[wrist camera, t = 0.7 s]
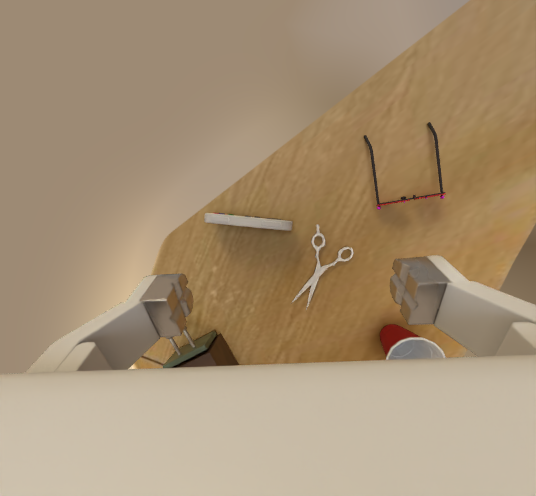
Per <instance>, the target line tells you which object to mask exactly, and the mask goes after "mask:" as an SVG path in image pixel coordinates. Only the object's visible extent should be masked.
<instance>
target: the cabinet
mask: <svg viewBox="0 0 536 496" xmlns="http://www.w3.org/2000/svg"><path fill="white" fill-rule="evenodd" d="M213 342H214V343H213ZM211 343H213V344H212V346H211V347H210V349H209V351H208V352H207V353H205V354H203V355H201V356H199V357H197V358H195V359H193V360H191V361H189V362H187V363H185V364H183V365H181V366H179V367H177V366H178V364H177V365H175V366H173V367H171V368H176V367H177V368H182V367H208V366H234V365H239V364H238V362H237V361H236V359H235V357H234V356H233V354H232V352H231V350H230V349H229V347H228V345H227V344H226V342H225V340H224V338H223V337H222V335H221V334H219V335H217V336H215V338H214V339H213V341H212V342H211Z"/></svg>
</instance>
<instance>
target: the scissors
mask: <svg viewBox="0 0 536 496" xmlns="http://www.w3.org/2000/svg"><path fill="white" fill-rule="evenodd" d="M316 228H317V234H315V235H314V236H313V237H312V240H311V242H312V245H313V247H314V248H315V249H316V252H317V253H316V255H315V256H316V258H317V261H318V262H317V265H316V268H315V272H314V274H313V276H312V277H311V278H310V279H309V280H308V282H307V283H306V284H305V285H304V287H303V288H302V289H301V291H300V292H299V293H298V295H297V296H296V297H295V299H294V300H293V301H292V303H293V302H294V301H295V300H296V299H297V298H298V297H299V296H300V295H301V294H302V293H303V292H304V291H305V290H306V289H307V288H308V287H309V286H310V285H311V284H312V285H311V289H310V294H309V299H308V304H307V308H308V305H309V303H310V300H311V298H312V295H313V293H314V290H315V288H316V285H317V282H318V279H319V277H320V276H321V275H322V273H323V272H324V271H325V270H326V269H327V268H328V267H329V266H333V265H335V264H336V263H337V262H338V261H347V260H349V259H351V258H352V256H353V249H352V248H350V247H343V248H342V249H340V250H339V251H338V258H337V259H336V260H335V262H333V263H331V264H328V265H324V266H322V267H321V266H320V262H319V258H318V253H319V250H320V248H322V247H323V246H325V238H324V236H323V235H322V234H320V233H319V225H318V224H317V225H316ZM316 236H321V237H322V239H323V242H322V244H321V245H320V246H318V247H317V246H315V245H314V239H315V237H316ZM345 249H349V250H350V251H351V255H350V256H349V258H346V259H342V258H341V253H342V252H343V251H344V250H345ZM292 303H291V304H292ZM306 310H307V309H306Z"/></svg>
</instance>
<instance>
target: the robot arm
mask: <svg viewBox="0 0 536 496" xmlns="http://www.w3.org/2000/svg"><path fill="white" fill-rule="evenodd" d="M392 269H393V270H394V272H395V274H394V275H393V276H392V277H391V278H390V292H391V295H392V298H393V300H394V301H395V302H396V303H397V304H399V305H401V309H400V312H401V313H402V315H403V317H404V318H405V320H406V322H407V323H408V325H416V324H434V326H436V327H437V328H438V329H440V330H441V331H443V332H444V333H446V334H447V335H448V336H450V337H451V338H453V339H454V340H455V341H457V342H458V343H460V344H461V345H462V346H464V347H465V348H467V349H468V350H470V351H471V352H472V353H474V354H475V355H477V356H478V357H455V358H427V359H400V360H372V361H345V362H317V363H289V364H261V365H234V366H208V367H182V368H154V369H128V368H130V367H131V366H132V365H133V364H134V363H135V362H136V361H137V360H138V359H139V358H140V357H141V356H142V355H143V354H144V353H145V352H146V351H147V350H148V349H149V348H150V347H151V346H152V345H153V344H154V343H156V342H157V341H158V340H159V339H160V337H169V336H181V335H182V333H183V330H184V328H185V325H186V323H187V321H186V318H185V317H187V316H188V315H189V314H190V313H191V311H192V308H193V295H192V292H191V290H190V289H188V288H187V287H186V285H187V283H188V280H187V278H186V275H184V274H165V275H149V276H146V277H144V278H143V280H142V281H141V282H140V283H139V285H138V286H137V287H136V289H135V290H134V291H133V293H132V294H131V295H130V296H129V298H128V299H127V301H126V302H125V303H120V304H118V305H116V306H115V307H113V308H111V309H109V310H108V311H106V312H104V313H103V314H101V315H99V316H98V317H96V318H94V319H93V320H91V321H89V322H87V323H86V324H84V325H83V326H81V327H79V328H78V329H76V330H74V331H72V332H71V333H69V334H67V335H66V336H64V337H62V338H60V339H59V340H57V341H56V342H54V343H52V344H51V346H50V347H49V348H48V349H47V350H46V351H45V352H44V353H43V354H42V355H41V356H40V357H39V358H38V359H37V360H36V362H35V363H34V364H33V365H32V366H31V367H30V368H29V369H28V370H27V371H26V372H25V373H17V374H0V496H536V305H534V304H531V303H529V302H526V301H523V300H521V299H518V298H516V297H513V296H511V295H508V294H506V293H503V292H500V291H498V290H495V289H493V288H490V287H488V286H485V285H483V284H480V283H477V282H475V281H470V282H469V281H468V280H467V279H466V278H465V277H464V276H463V275H462V274H461V273H460V272H458V271H457V270H456V269H455V268H454V267H453V266H452V265H451V264H450V263H449V262H448V261H447V260H445V259H444V258H443V257H442V256H440V255H433V256H424V257H415V258H403V259H395V261H394V262H393V267H392Z"/></svg>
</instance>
